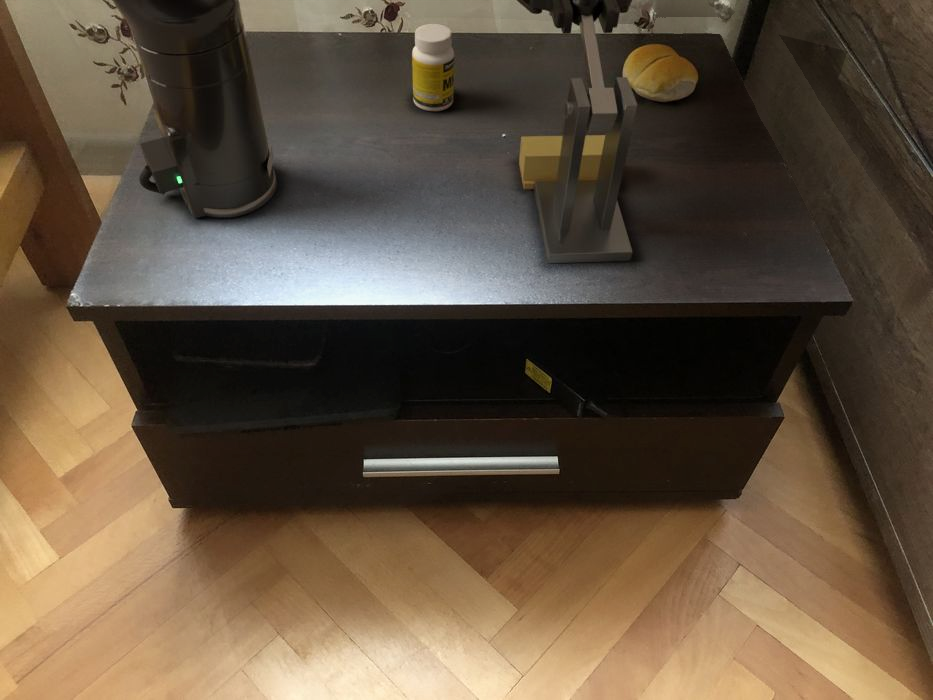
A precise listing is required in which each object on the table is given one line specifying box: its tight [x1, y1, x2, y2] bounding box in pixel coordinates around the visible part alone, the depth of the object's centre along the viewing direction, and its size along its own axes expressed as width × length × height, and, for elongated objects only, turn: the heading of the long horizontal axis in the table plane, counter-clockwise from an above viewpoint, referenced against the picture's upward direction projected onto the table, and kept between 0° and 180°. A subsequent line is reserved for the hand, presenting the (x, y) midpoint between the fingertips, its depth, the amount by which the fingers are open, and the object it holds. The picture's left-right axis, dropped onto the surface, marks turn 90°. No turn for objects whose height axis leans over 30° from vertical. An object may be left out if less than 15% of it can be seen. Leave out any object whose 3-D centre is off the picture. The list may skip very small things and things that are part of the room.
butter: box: [518, 134, 605, 190], centre depth 81 cm, size 4×10×4 cm, turn 94°
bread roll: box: [622, 43, 699, 103], centre depth 93 cm, size 8×9×4 cm
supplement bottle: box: [411, 23, 455, 112], centre depth 88 cm, size 5×5×8 cm
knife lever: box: [570, 0, 618, 133], centre depth 70 cm, size 15×3×3 cm, turn 4°
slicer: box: [533, 76, 638, 264], centre depth 72 cm, size 11×8×15 cm
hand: (589, 23), depth 71 cm, fingers closed on knife lever, 3 cm apart
